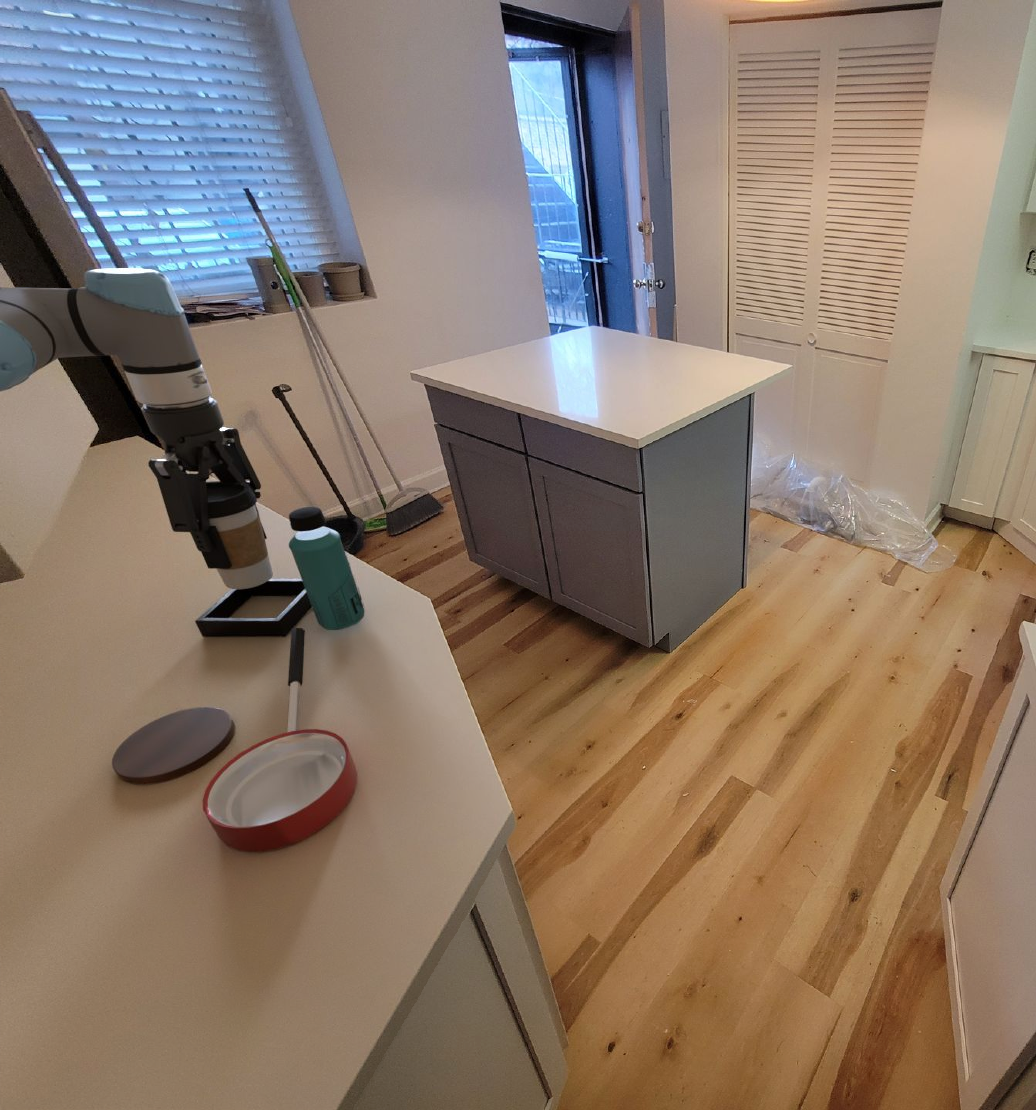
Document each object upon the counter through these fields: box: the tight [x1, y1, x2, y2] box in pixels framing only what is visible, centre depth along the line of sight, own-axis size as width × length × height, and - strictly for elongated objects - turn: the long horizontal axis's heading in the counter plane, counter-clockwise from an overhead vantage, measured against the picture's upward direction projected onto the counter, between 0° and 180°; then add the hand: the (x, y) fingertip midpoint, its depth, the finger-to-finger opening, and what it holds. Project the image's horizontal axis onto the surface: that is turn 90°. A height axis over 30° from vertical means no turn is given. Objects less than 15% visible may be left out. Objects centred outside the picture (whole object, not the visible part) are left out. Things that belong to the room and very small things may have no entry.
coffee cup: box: [197, 480, 274, 590], centre depth 88 cm, size 8×8×15 cm
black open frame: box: [194, 578, 313, 638], centre depth 95 cm, size 12×12×3 cm
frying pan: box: [201, 627, 358, 853], centre depth 73 cm, size 32×13×6 cm, turn 33°
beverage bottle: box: [288, 506, 366, 631], centre depth 89 cm, size 6×7×20 cm
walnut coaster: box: [111, 706, 236, 785], centre depth 73 cm, size 11×11×1 cm
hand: (238, 552), depth 90 cm, fingers closed on coffee cup, 8 cm apart
